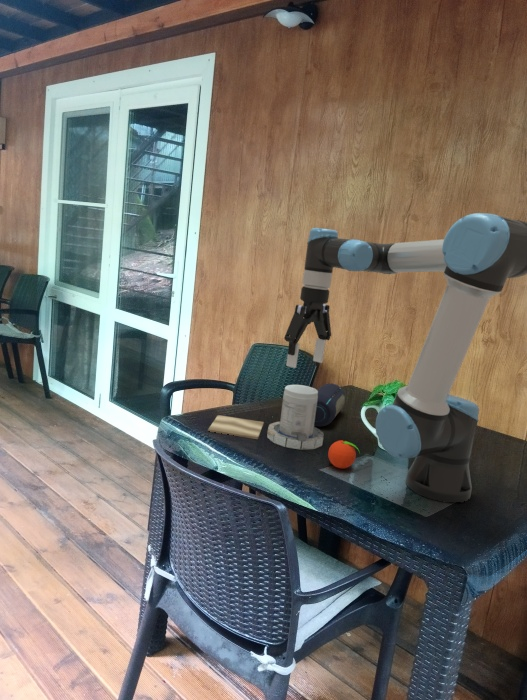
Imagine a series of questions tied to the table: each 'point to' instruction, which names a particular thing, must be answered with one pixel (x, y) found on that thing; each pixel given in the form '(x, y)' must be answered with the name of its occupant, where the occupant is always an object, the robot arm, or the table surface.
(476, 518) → the table surface
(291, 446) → the collar
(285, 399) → the supplement tub
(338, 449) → the clementine
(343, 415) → the table surface
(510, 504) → the table surface
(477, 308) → the robot arm
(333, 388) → the portable speaker
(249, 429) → the mat
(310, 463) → the table surface
